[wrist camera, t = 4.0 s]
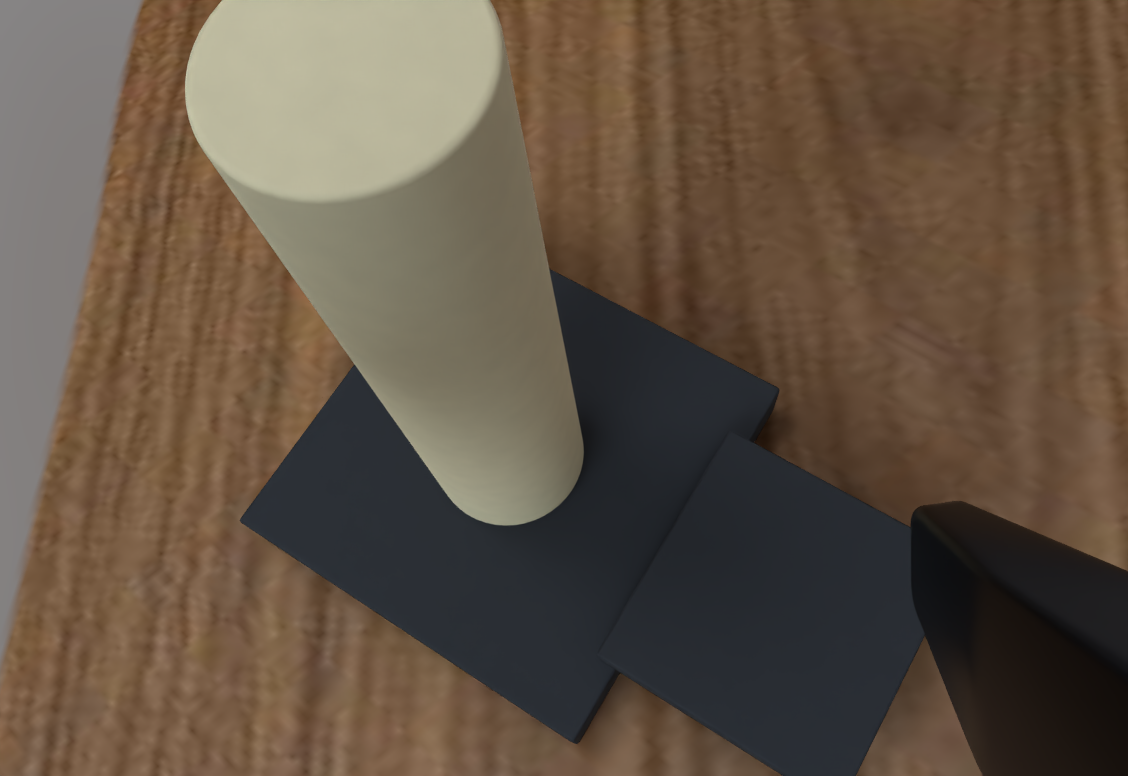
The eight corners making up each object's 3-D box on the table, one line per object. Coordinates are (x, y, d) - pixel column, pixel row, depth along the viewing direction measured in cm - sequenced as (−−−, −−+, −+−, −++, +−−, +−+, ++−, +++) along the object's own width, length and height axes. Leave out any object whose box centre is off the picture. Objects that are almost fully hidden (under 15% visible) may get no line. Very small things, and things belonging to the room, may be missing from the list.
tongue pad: (969, 511, 20) (1454, 103, 8) (784, 882, 18) (1067, 1097, 6) (468, 247, 23) (273, -328, 11) (259, 533, 21) (-264, 203, 9)
